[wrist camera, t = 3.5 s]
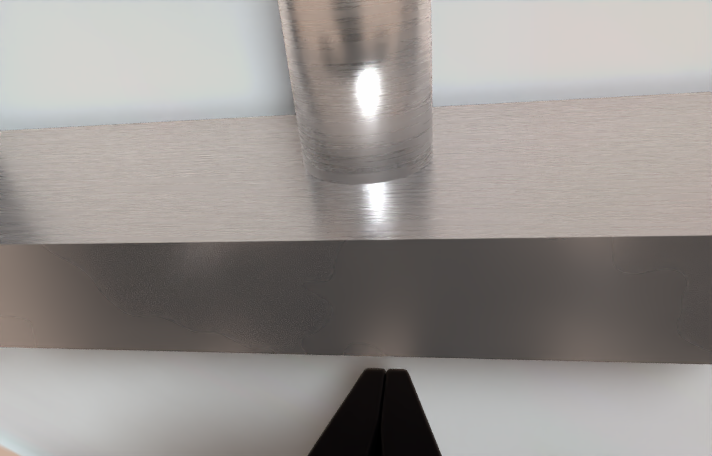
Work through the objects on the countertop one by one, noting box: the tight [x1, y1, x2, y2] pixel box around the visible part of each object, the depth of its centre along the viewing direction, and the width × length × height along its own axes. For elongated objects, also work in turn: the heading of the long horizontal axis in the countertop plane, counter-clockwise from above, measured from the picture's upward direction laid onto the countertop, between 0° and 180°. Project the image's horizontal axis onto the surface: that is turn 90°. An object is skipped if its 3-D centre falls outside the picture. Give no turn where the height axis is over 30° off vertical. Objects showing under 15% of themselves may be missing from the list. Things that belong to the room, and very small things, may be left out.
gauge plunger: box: [0, 0, 712, 364], centre depth 6 cm, size 7×21×5 cm, turn 95°
